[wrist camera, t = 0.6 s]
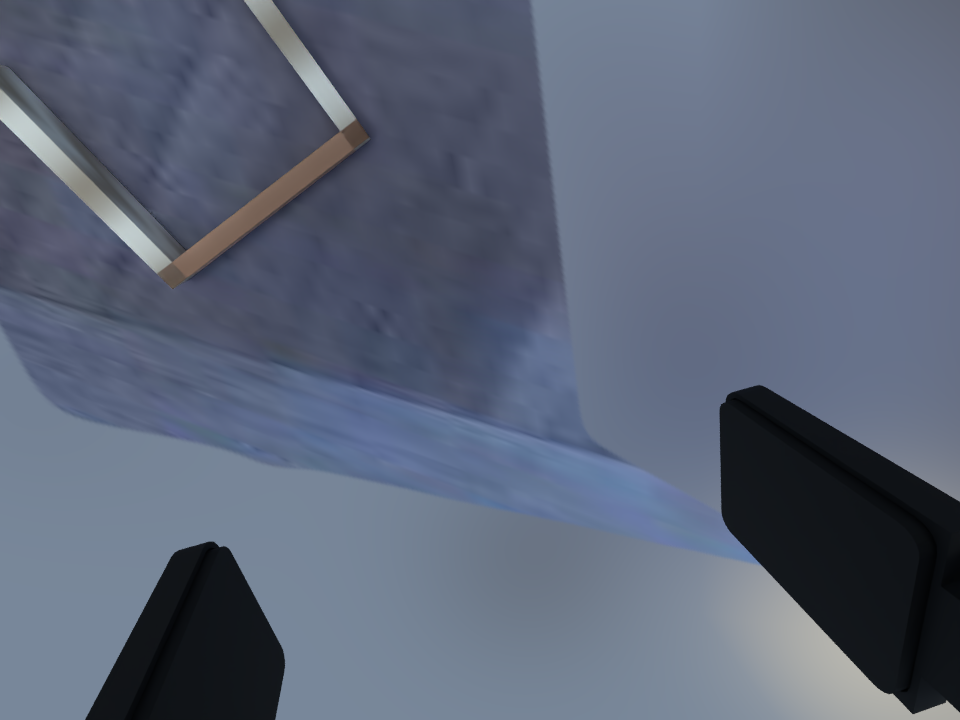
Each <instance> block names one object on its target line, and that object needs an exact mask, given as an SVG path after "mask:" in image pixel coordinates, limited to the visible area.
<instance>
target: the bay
mask: <svg viewBox="0 0 960 720" xmlns="http://www.w3.org/2000/svg"><path fill="white" fill-rule="evenodd" d="M244 1H245V2H246V4H247V5H248V6H249V8H250V9H251V11H252V12H253V13H254V15H255V16H256V17H257V19H258V20H259V21H260V23H261V24H262V25H263V27H264V28H265V30H266V31H267V32H268V34H269V35H270V36H271V38H272V39H273V40H274V42H275V43H276V45H277V46H278V47H279V49H280V50H281V51H282V53H283V54H284V55H285V57H286V58H287V59H288V61H289V62H290V64H291V65H292V66H293V68H294V69H295V70H296V72H297V73H298V74H299V76H300V77H301V79H302V80H303V81H304V83H305V84H306V85H307V87H308V88H309V89H310V91H311V92H312V93H313V95H314V96H315V98H316V99H317V100H318V102H319V103H320V104H321V106H322V107H323V108H324V110H325V111H326V112H327V114H328V115H329V117H330V118H331V119H332V121H333V122H334V123H335V125H336V126H337V127H338V129H339V130H340V132H339V133H338V134H336V135H335V136H334V137H332V138H331V139H330V140H329V141H327V142H326V143H325V144H323V145H322V146H321V147H320V148H318V149H317V150H316V151H314V152H313V153H312V154H311V155H309V156H308V157H307V158H305V159H304V160H303V161H302V162H300V163H299V164H298V165H296V166H295V167H294V168H293V169H291V170H290V171H289V172H287V173H286V174H285V175H283V176H282V177H281V178H280V179H278V180H277V181H276V182H274V183H273V184H272V185H271V186H269V187H268V188H267V189H265V190H264V191H263V192H262V193H260V194H259V195H258V196H256V197H255V198H254V199H253V200H251V201H250V202H249V203H247V204H246V205H245V206H244V207H242V208H241V209H240V210H238V211H237V212H236V213H235V214H233V215H232V216H231V217H229V218H228V219H227V220H226V221H224V222H223V223H222V224H220V225H219V226H218V227H217V228H215V229H214V230H213V231H211V232H210V233H209V234H208V235H206V236H205V237H204V238H202V239H201V240H200V241H199V242H197V243H196V244H195V245H193V246H192V247H191V248H190V249H188V250H187V251H186V250H185V249H184V248H183V247H182V246H181V245H180V244H179V243H178V242H177V241H176V240H175V239H174V238H173V237H172V236H171V235H170V234H169V233H168V232H167V231H166V230H165V229H164V228H163V226H162V225H161V224H160V223H159V222H158V221H157V220H156V219H155V218H154V217H153V216H152V215H151V214H150V213H149V212H148V211H147V210H146V209H145V208H144V207H143V206H142V205H141V204H140V203H139V202H138V201H137V200H136V199H135V197H134V196H133V195H132V194H131V193H130V192H129V191H128V190H127V189H126V188H125V187H124V186H123V185H122V184H121V183H120V182H119V181H118V180H117V179H116V178H115V177H114V176H113V175H112V174H111V173H110V172H109V171H108V170H107V168H106V167H105V166H104V165H103V164H102V163H101V162H100V161H99V160H98V159H97V158H96V157H95V156H94V155H93V154H92V153H91V152H90V151H89V150H88V149H87V148H86V147H85V146H84V145H83V144H82V143H81V142H80V140H79V139H78V138H77V137H76V136H75V135H74V134H73V133H72V132H71V131H70V130H69V129H68V128H67V127H66V126H65V125H64V124H63V123H62V122H61V121H60V120H59V119H58V118H57V117H56V116H55V115H54V114H53V113H52V111H51V110H50V109H49V108H48V107H47V106H46V105H45V104H44V103H43V102H42V101H41V100H40V99H39V98H38V97H37V96H36V95H35V94H34V93H33V92H32V91H31V90H30V89H29V88H28V87H27V86H26V85H25V83H24V82H23V81H22V80H21V79H20V78H19V77H18V76H17V75H16V74H15V73H14V72H13V71H12V70H11V69H10V68H9V67H6V66H3V65H0V120H1V121H2V122H3V123H4V124H5V125H6V126H7V127H8V128H9V129H10V130H12V131H13V132H14V133H15V134H16V135H17V136H18V137H19V138H20V139H21V140H22V141H23V142H24V143H25V144H26V145H27V146H28V147H29V148H30V149H31V150H32V151H33V152H34V153H35V154H36V155H37V156H38V157H39V158H40V159H41V160H42V161H43V162H44V163H45V164H46V165H47V166H48V167H49V168H50V169H51V170H52V171H53V172H54V173H55V174H56V175H57V176H58V177H59V178H60V179H61V180H62V181H63V182H64V183H65V184H66V185H67V186H68V187H69V188H70V189H71V190H72V191H73V192H74V193H75V194H76V195H77V196H78V197H79V198H81V199H82V200H83V201H84V202H85V203H86V204H87V205H88V206H89V207H90V208H91V209H92V210H93V211H94V212H95V213H96V214H97V215H98V216H99V217H100V218H101V219H102V220H103V221H104V222H105V223H106V224H107V225H108V226H109V227H110V228H111V229H112V230H113V231H114V232H115V233H116V234H117V235H118V236H119V237H120V238H121V239H122V240H123V241H124V242H125V243H126V244H127V245H128V246H129V247H130V248H131V249H132V250H133V251H134V252H135V253H136V254H137V255H138V256H139V257H140V258H141V259H142V260H143V261H144V262H145V263H146V264H147V265H148V266H149V267H151V268H152V269H153V270H154V271H155V272H156V273H157V274H158V275H159V276H160V277H161V278H162V279H163V280H164V281H165V282H166V283H167V284H168V285H169V286H170V287H171V288H172V289H174V288H176V287H177V286H179V285H181V284H182V283H184V282H186V281H187V280H189V279H191V278H192V277H193V276H194V275H196V274H197V273H198V272H200V271H201V270H202V269H203V268H205V267H206V266H207V265H209V264H210V263H211V262H213V261H214V260H215V259H216V258H218V257H219V256H220V255H222V254H223V253H224V252H225V251H227V250H228V249H229V248H231V247H232V246H233V245H235V244H236V243H237V242H238V241H240V240H241V239H242V238H244V237H245V236H246V235H248V234H249V233H250V232H251V231H253V230H254V229H255V228H257V227H258V226H259V225H260V224H262V223H263V222H264V221H266V220H267V219H268V218H270V217H271V216H272V215H273V214H275V213H276V212H277V211H279V210H280V209H281V208H282V207H284V206H285V205H286V204H288V203H289V202H290V201H292V200H293V199H294V198H295V197H297V196H298V195H299V194H301V193H302V192H303V191H305V190H306V189H307V188H308V187H310V186H311V185H312V184H314V183H315V182H316V181H317V180H319V179H320V178H321V177H323V176H324V175H325V174H327V173H328V172H329V171H330V170H332V169H333V168H334V167H336V166H337V165H338V164H339V163H341V162H342V161H343V160H345V159H346V158H347V157H349V156H350V155H351V154H352V153H354V152H355V151H356V150H358V149H359V148H360V147H362V146H363V145H364V144H365V143H367V142H368V141H369V140H371V139H370V137H369V136H368V134H367V133H366V132H365V130H364V129H363V127H362V126H361V125H360V123H359V122H358V120H357V119H356V118H355V116H354V115H353V113H352V112H351V111H350V109H349V108H348V106H347V105H346V104H345V102H344V101H343V99H342V98H341V97H340V95H339V94H338V92H337V91H336V90H335V88H334V87H333V85H332V84H331V83H330V81H329V80H328V78H327V77H326V76H325V74H324V73H323V71H322V70H321V69H320V67H319V66H318V64H317V63H316V62H315V60H314V59H313V57H312V56H311V55H310V53H309V52H308V50H307V49H306V48H305V46H304V45H303V43H302V42H301V41H300V39H299V38H298V36H297V35H296V34H295V32H294V31H293V29H292V28H291V27H290V25H289V24H288V22H287V21H286V20H285V18H284V17H283V15H282V14H281V13H280V11H279V10H278V8H277V7H276V6H275V4H274V3H273V1H272V0H244Z"/></svg>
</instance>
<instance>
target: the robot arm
mask: <svg viewBox="0 0 960 720" xmlns="http://www.w3.org/2000/svg"><path fill="white" fill-rule="evenodd" d="M720 455H721V503H722V505H721V509H722V517H723V520H724V522H725V525H726V526H727V528H728V529H729V531H730V532H731V533H732V534H733V535H734V536H735V537H736V538H737V540H738V541H739V542H740V543H741V544H742V545H743V546H744V547H745V548H746V549H747V550H748V551H749V552H750V553H751V554H752V555H753V557H754V558H755V559H756V560H757V561H758V562H759V563H760V564H761V565H762V566H763V567H764V568H765V569H766V570H767V571H768V572H769V574H770V575H771V576H772V577H773V578H774V579H775V580H776V581H777V582H778V583H779V584H780V585H781V586H782V587H783V588H784V589H785V591H787V593H788V594H789V595H790V596H791V597H792V598H793V599H794V600H795V601H796V602H797V603H798V604H799V605H800V607H801V608H802V609H803V610H804V611H805V612H806V613H807V614H808V615H809V616H810V617H811V618H812V619H813V620H814V621H815V622H816V624H817V625H818V626H819V627H820V628H821V629H822V630H823V631H824V632H825V633H826V634H827V635H828V636H829V637H830V638H831V639H832V641H833V642H834V643H835V644H836V645H837V646H838V647H839V648H840V649H841V650H842V651H843V652H844V653H845V654H846V655H847V656H848V658H850V660H851V661H852V662H853V663H854V664H855V665H856V666H857V667H858V668H859V669H860V670H861V671H862V672H863V673H864V675H865V676H866V677H867V678H868V679H869V680H870V681H871V682H872V683H873V684H874V685H875V686H876V687H877V688H878V689H880V690H881V691H883V692H884V693H887V694H892V693H893V694H894V695H895V696H896V697H897V698H898V699H899V700H900V701H901V702H902V703H903V704H904V705H905V707H906V708H907V709H908V710H909V711H910V712H911V713H912V714H915V713H918V712H921V711H923V710H926V709H929V708H932V707H935V706H937V705H940V704H943V703H946V700H947V701H948V702H949V703H950V704H952V705H953V706H954V707H955V708H956V709H957V710H958V711H959V712H960V502H959V501H958V500H956V499H954V498H952V497H950V496H949V495H947V494H946V493H944V492H942V491H941V490H939V489H937V488H935V487H934V486H932V485H930V484H929V483H927V482H925V481H924V480H922V479H920V478H919V477H917V476H915V475H913V474H912V473H910V472H908V471H907V470H905V469H903V468H902V467H900V466H898V465H896V464H895V463H893V462H891V461H890V460H888V459H886V458H885V457H883V456H881V455H880V454H878V453H876V452H874V451H873V450H871V449H869V448H868V447H866V446H864V445H863V444H861V443H859V442H857V441H856V440H854V439H852V438H850V437H849V436H847V435H846V434H844V433H842V432H840V431H839V430H837V429H835V428H834V427H832V426H830V425H829V424H827V423H825V422H823V421H822V420H820V419H818V418H817V417H815V416H813V415H812V414H810V413H808V412H807V411H805V410H803V409H801V408H800V407H798V406H796V405H795V404H793V403H791V402H790V401H788V400H786V399H784V398H783V397H781V396H779V395H778V394H776V393H774V392H773V391H771V390H769V389H768V388H766V387H764V386H760V385H758V386H753V387H750V388H746V389H743V390H739V391H736V392H732V393H730V394H729V395H728V396H727V398H726V402H725V403H723V404H721V406H720ZM284 669H285V659H284V653H283V649H282V647H281V645H280V643H279V641H278V640H277V638H276V636H275V634H274V632H273V630H272V628H271V626H270V624H269V622H268V621H267V619H266V617H265V615H264V613H263V611H262V609H261V607H260V605H259V604H258V602H257V600H256V598H255V596H254V594H253V592H252V590H251V589H250V587H249V585H248V583H247V581H246V579H245V577H244V575H243V574H242V572H241V570H240V568H239V566H238V564H237V562H236V560H235V559H234V557H233V555H232V553H231V551H230V550H229V549H228V548H227V547H224V546H223V547H219V546H218V545H217V544H216V543H215V542H206V543H203V544H199V545H196V546H192V547H189V548H185V549H182V550H179V551H177V552H175V553H174V554H173V556H172V557H171V559H170V561H169V562H168V564H167V566H166V568H165V570H164V572H163V574H162V576H161V577H160V579H159V581H158V583H157V585H156V587H155V589H154V591H153V593H152V594H151V596H150V598H149V600H148V602H147V604H146V606H145V608H144V610H143V612H142V614H141V615H140V617H139V619H138V621H137V623H136V625H135V627H134V629H133V630H132V632H131V634H130V636H129V638H128V640H127V642H126V644H125V646H124V647H123V649H122V652H121V653H120V655H119V657H118V659H117V661H116V663H115V664H114V666H113V668H112V670H111V672H110V674H109V676H108V678H107V680H106V682H105V683H104V685H103V687H102V689H101V691H100V693H99V695H98V697H97V698H96V700H95V702H94V704H93V706H92V708H91V710H90V712H89V714H88V716H87V717H86V719H85V720H275V718H276V713H277V707H278V702H279V697H280V691H281V686H282V681H283V676H284Z"/></svg>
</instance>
